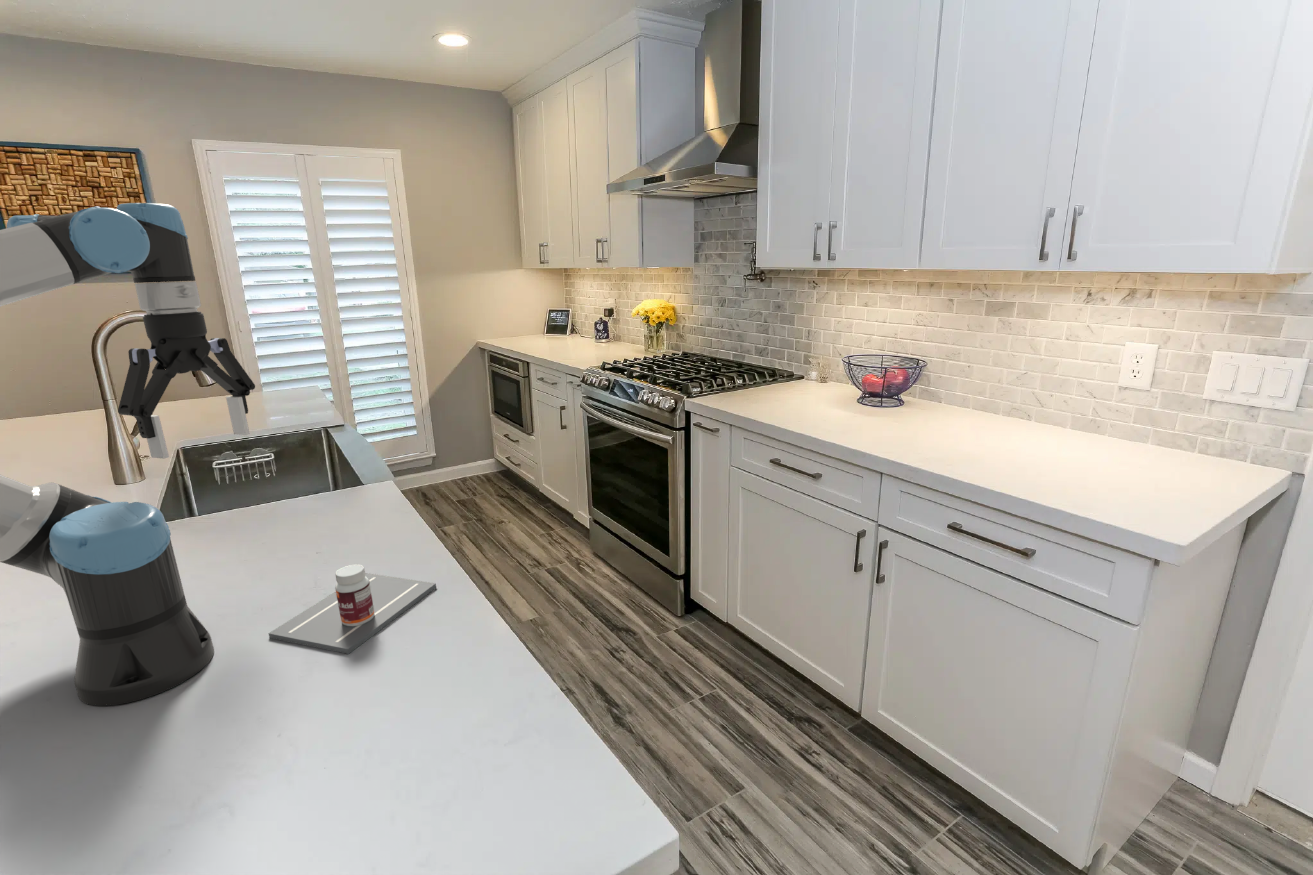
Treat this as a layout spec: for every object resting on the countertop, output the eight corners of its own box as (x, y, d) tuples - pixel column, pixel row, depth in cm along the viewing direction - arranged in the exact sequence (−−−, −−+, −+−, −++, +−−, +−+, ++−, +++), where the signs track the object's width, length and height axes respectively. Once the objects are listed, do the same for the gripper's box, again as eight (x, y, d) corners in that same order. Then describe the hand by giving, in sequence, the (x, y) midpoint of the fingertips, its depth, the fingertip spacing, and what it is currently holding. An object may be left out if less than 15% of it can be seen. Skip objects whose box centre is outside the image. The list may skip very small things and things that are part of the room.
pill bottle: (334, 623, 98) (325, 573, 96) (361, 608, 102) (352, 560, 100) (355, 630, 96) (346, 579, 94) (381, 614, 100) (373, 566, 98)
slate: (348, 653, 92) (347, 648, 91) (269, 637, 96) (268, 633, 96) (436, 587, 110) (435, 583, 110) (366, 576, 115) (365, 572, 114)
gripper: (98, 319, 85) (138, 470, 90) (263, 305, 107) (286, 427, 113) (61, 319, 87) (102, 467, 93) (230, 305, 110) (254, 425, 115)
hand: (203, 445), depth 103 cm, fingers open, 13 cm apart
